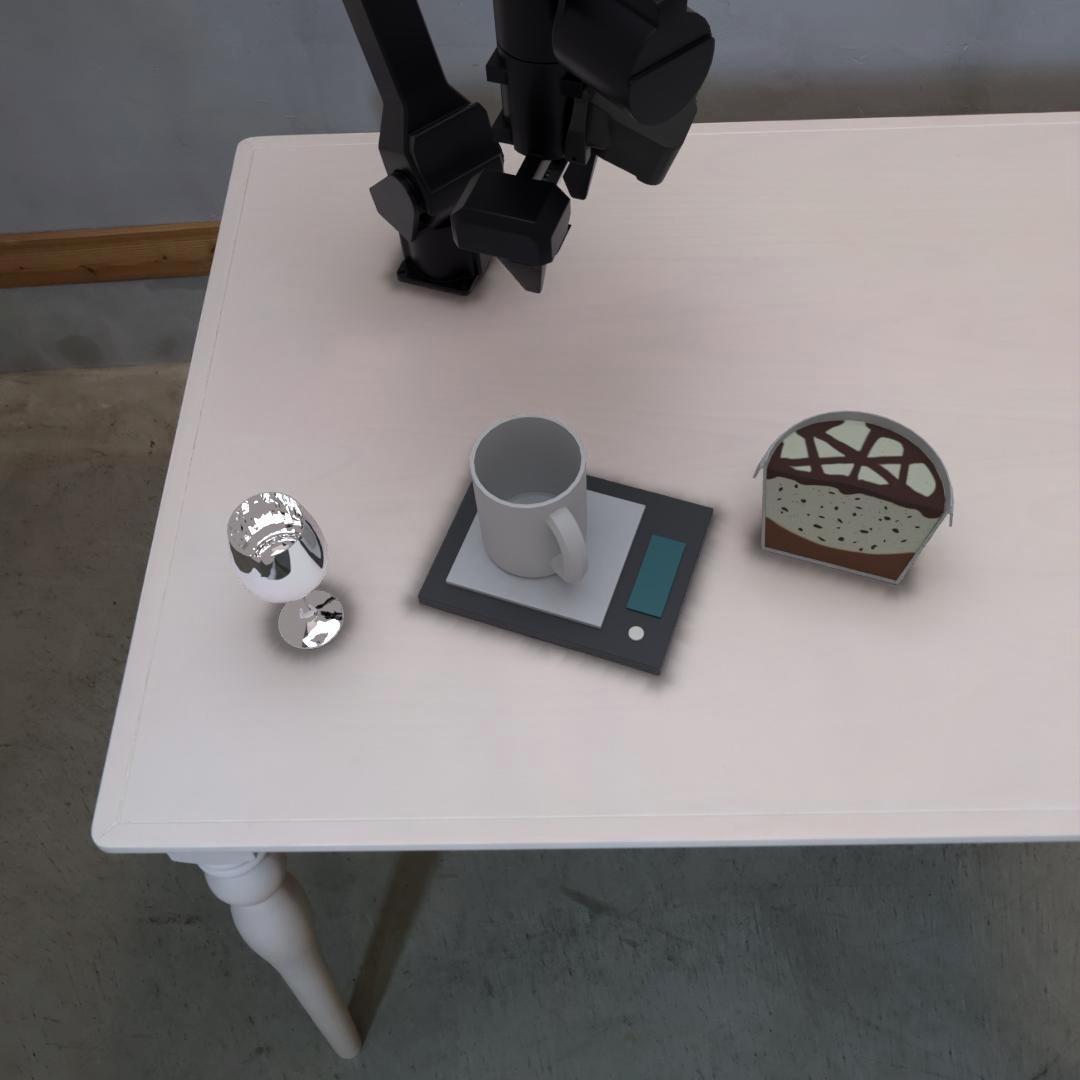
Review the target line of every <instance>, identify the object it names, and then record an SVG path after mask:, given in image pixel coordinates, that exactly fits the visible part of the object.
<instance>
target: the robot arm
mask: <svg viewBox="0 0 1080 1080" xmlns="http://www.w3.org/2000/svg"><path fill="white" fill-rule="evenodd" d="M688 1H689V0H492V9H493V19H494V20H493V21H494V31H495V41H496V42H495V43H496V47H495V49H494V51H493V52H492V54H491V56H490V57H489V58H488V61H487V62H486V64H485V66H484V67H485V75H486V82H488V83H492V84H498V85H500V95H501V96H500V97H501V110H500V112H499V113H498V115H497V117H496V119H495V121H494V122H493V124H492V125H491V122H490V121H491V120H490V118H489V114H488V111H487V109H486V108H485V107H484V106H483V105H482V104H481V103H480V102H478V101H474V102H472V101H471V100H470V99H468V98H467V97H466V96H465V95H464V94H463V93H461V92H460V91H458V89H457V88H455V87H454V86H453V85H451V84H450V83H449V81H448V79H447V77H446V75H445V72H444V69H443V66H442V64H441V61H440V58H439V56H438V53H437V50H436V47H435V44H434V41H433V39H432V37H431V33H430V30H429V28H428V26H427V23H426V20H425V17H424V15H423V12H422V9H421V7H420V4H419V1H418V0H341V2H342V4H343V6H344V9H345V13H346V14H347V17H348V18H349V22H350V24H351V26H352V30H353V32H354V34H355V36H356V39H357V41H358V44H359V46H360V49H361V51H362V54H363V56H364V58H365V61H366V63H367V66H368V68H369V71H370V73H371V76H372V78H373V82H374V84H375V86H376V88H377V91H378V94H379V96H380V98H381V101H382V112H381V121H380V129H379V136H378V143H377V144H378V145H377V147H378V152H379V155H380V159H381V161H382V163H383V166H384V169H385V173H386V175H387V176H385V177H384V178H383V179H381V180H379V181H378V182H376V183H375V184H373V185H371V186H370V187H369V188H368V190H369V193H370V196H371V199H372V201H373V204H374V206H375V209H376V211H377V213H378V214H379V215H380V216H381V218H383V220H385V222H387V223H388V224H389V225H390V226H391V227H392V228H393V229H395V230H396V232H398V236H399V241H400V247H401V251H402V255H403V256H402V257H403V260H402V261H401V262H400V265H399V267H398V268H397V270H396V277H397V279H398V280H399V281H402V282H407V283H411V284H416V285H419V286H423V287H427V288H433V289H436V290H440V291H445V292H449V293H453V294H456V295H457V294H458V295H462V296H467V295H469V294H470V293H471V292H472V290H473V288H474V286H475V285H476V282H477V281H478V279H479V277H480V276H482V275H483V274H484V272H485V270H486V268H487V266H488V264H489V263H490V261H491V259H492V257H495V258H496V259H498V261H499V262H500V263H501V264H502V265H503V266H504V267H505V269H506V270H507V271H508V272H509V273H510V275H511V276H512V277H513V278H514V279H515V280H516V281H517V283H518V284H519V285H520V286H521V287H522V289H523V290H525V292H529V293H533V294H538V295H539V294H541V293H542V292H543V288H544V282H545V277H546V271H547V265H549V264H551V263H553V262H554V260H555V258H556V256H557V255H558V254H559V252H560V251H561V248H562V246H563V244H564V242H565V240H566V239H567V236H568V234H569V231H570V229H571V228H572V224H571V223H570V220H571V215H572V207H571V198H572V199H575V200H579V201H585V200H586V199H587V197H588V195H589V192H590V189H591V184H592V180H593V176H594V174H595V169H596V166H597V162H598V158H600V159H601V160H603V161H605V162H607V163H609V164H611V165H613V166H615V167H617V168H619V169H621V170H622V171H625V172H627V173H629V174H630V175H633V176H634V177H635V178H636V180H637V181H638V182H640V183H642V184H645V185H648V186H658V185H660V184H662V183H663V182H664V180H665V178H666V177H667V174H668V172H669V170H670V168H671V167H672V165H673V163H674V162H675V160H676V158H677V156H678V155H679V152H680V151H681V149H682V147H683V145H684V144H685V141H686V138H687V136H688V134H689V132H690V129H691V127H692V125H693V122H694V120H695V118H696V116H697V114H698V104H697V103H698V101H697V99H696V98H697V97H698V94H699V92H700V90H701V89H702V87H703V85H704V83H705V80H706V79H707V77H708V75H709V72H710V69H711V67H712V64H713V59H714V55H715V49H716V48H715V47H716V38H715V37H713V33H712V30H711V25H710V24H709V22H708V20H707V19H706V18H705V17H704V16H703V15H701V14H700V13H699V12H697V11H696V10H694V9H693V8H690V7H689V6H688ZM501 144H505V145H509V146H513V149H514V151H515V152H517V153H518V154H520V155H522V156H524V159H523V160H522V162H521V164H520V167H519V168H518V170H517V172H516V173H515V174H512V173H508V172H505V167H504V166H505V154H504V152H503V149H502V145H501ZM562 179H563V182H564V185H565V186H566V188H567V191H568V194H569V196H568V195H567V194H566V193H565V192H564V191H563V190H562V189H561V188H560V187H559V185H560V182H561V181H562ZM570 197H571V198H570Z"/></svg>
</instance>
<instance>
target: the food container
mask: <svg viewBox="0 0 1080 1080" xmlns="http://www.w3.org/2000/svg"><path fill="white" fill-rule="evenodd" d="M761 469H762V497H761V498H762V499H761V500H762V503H761V532H760V533H761V535H760V537H761V538H760V543H761V544H760V550H762V551H766V552H769V553H773V554H778V555H782V556H786V557H789V558H792V559H797V560H800V561H804V562H808V563H813V564H817V565H820V566H824V567H828V568H831V569H836V570H839V571H844V572H847V573H851V574H855V575H859V576H863V577H867V578H870V579H874V580H878V581H882V582H886V583H890V584H893V585H899V584H900V583H901V581H902V580H903V579H904V577H905V576H906V574H907V573H908V572H909V570H910V569H911V568H912V566H913V564H914V563H915V561H916V560H917V559H918V557H919V556H920V554H922V552H923V550H924V549H925V547H926V546H927V544H928V543H929V541H930V540H931V538H932V537H933V536H934V534H935V533H936V531H937V530H938V529H939V527H940V526H941V524H942V523H943V522H944V521H945V518H946V517H948V515H949V521H948V522H949V523H948V527H949V528H951V527H953V520H954V509H955V497H954V488H953V486H952V481H951V477H950V474H949V472H948V470H947V468H946V465H945V464H944V461H943V460H942V457H940V455H939V453H937V451H936V450H935V448H934V447H933V446H931V444H930V443H929V442H928V441H927V440H926V439H925V438H924V437H922V436H921V435H919V434H918V433H917V432H916V431H914V430H913V429H911V428H910V427H908V426H906V425H904V424H903V423H901V422H898V421H896V420H894V419H891V418H889V417H887V416H883V415H880V414H877V413H873V412H866V411H861V410H836V411H835V410H834V411H833V410H832V411H828V412H822V413H818V414H814V415H812V416H809V417H806V418H804V419H802V420H801V421H798V422H796V423H795V424H792V425H791V426H790V427H789V428H787V429H786V430H785V431H783V432H782V433H781V434H780V435H778V437H777V438H776V439H775V440H774V441H773V442H772V443H771V444H770V446H769V447H768V449H767V450H766V451H765V452H764V455H763V456H762V458H761V460H760V461H759V463H758V465H757V466H756V469H755V471H754V473H753V476H752V479H756V478H757V477H758V475H759V473H760V472H761Z"/></svg>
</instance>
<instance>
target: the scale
mask: <svg viewBox="0 0 1080 1080" xmlns="http://www.w3.org/2000/svg"><path fill="white" fill-rule="evenodd" d="M586 487H587V533H586V541H585V545H586V550H587V556H588V570H587V573H586V575H585V576H584V577H583V578H582V580H581V581H579V582H574V583H568V582H566V581H564V580H563V579H562V578H561V577H560V576H559V575H558V574H557V573H555V574H552V575H549V576H544V577H537V578H531V577H521V576H518V575H515V574H512V573H509V572H507V571H505V570H504V569H502V568H501V567H499V566H498V565H497V564H496V563H495V562H494V561H493V560H492V559H491V558H490V557H489V555H488V553H487V550H486V548H485V546H484V543H483V539H482V534H481V528H480V522H479V516H478V510H477V504H476V499H475V493H474V487H473V481H472V480H471V481H470V484H469V486H468V488H467V489H466V492H465V494H464V496H463V498H462V501H461V503H460V505H459V507H458V509H457V511H456V514H455V516H454V518H453V520H452V522H451V524H450V526H449V528H448V530H447V532H446V535H445V537H444V539H443V541H442V544H441V545H440V547H439V550H438V552H437V554H436V556H435V559H434V560H433V563H432V564H431V567H430V569H429V571H428V573H427V575H426V577H425V579H424V582H423V584H422V586H421V588H420V590H419V592H418V594H417V599H418V602H419V603H420V604H422V605H426V606H429V607H432V608H435V609H439V610H442V611H446V612H449V613H452V614H455V615H458V616H461V617H465V618H469V619H471V620H474V621H475V620H476V621H479V622H482V623H485V624H488V625H492V626H494V627H495V626H496V627H497V628H501V629H506V630H508V631H510V632H511V631H512V632H515V633H517V634H522V635H525V636H527V637H532V638H535V639H538V640H541V641H544V642H548V643H551V644H555V645H558V646H561V647H564V648H568V649H571V650H575V651H578V652H580V653H584V654H588V655H591V656H594V657H597V658H600V659H603V660H607V661H611V662H614V663H617V664H620V665H624V666H627V667H630V668H633V669H636V670H637V669H638V670H641V671H644V672H647V673H650V674H653V675H657V676H659V675H661V673H662V669H663V666H664V664H665V663H664V662H665V660H666V657H667V654H668V652H669V648H670V645H671V642H672V640H673V636H674V633H675V630H676V627H677V624H678V622H679V618H680V615H681V612H682V610H683V607H684V604H685V599H686V597H687V594H688V591H689V588H690V585H691V582H692V579H693V576H694V573H695V571H696V568H697V564H698V561H699V558H700V554H701V552H702V549H703V546H704V543H705V540H706V537H707V534H708V531H709V529H710V525H711V522H712V519H713V515H714V508H713V507H709V506H706V505H703V504H698V503H695V502H691V501H688V500H683V499H680V498H676V497H672V496H668V495H665V494H660V493H657V492H653V491H651V490H646V489H642V488H639V487H633V486H631V485H628V484H627V485H626V484H624V483H618V482H616V481H612V480H609V479H604V478H601V477H598V476H593V475H589V474H586Z"/></svg>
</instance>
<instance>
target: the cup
mask: <svg viewBox="0 0 1080 1080" xmlns="http://www.w3.org/2000/svg"><path fill="white" fill-rule="evenodd" d="M469 468H470V475H471V482H472V481H473V487H474V493H475V499H476V504H477V510H478V516H479V522H480V528H481V534H482V539H483V543H484V546H485V548H486V550H487V553H488V555H489V557H490V558H491V559H492V560H493V561H494V562H495V563H496V564H497V565H498V566H499V567H501V568H502V569H504V570H505V571H507V572H509V573H512V574H515V575H518V576H521V577H531V578H537V577H544V576H549V575H552V574H555V573H557V574H558V575H559V576H560V577H561V578H562V579H563V580H564V581H566V582H568V583H574V582H579V581H581V580H582V578H583V577H584V576H585V575H586V573H587V570H588V556H587V550H586V545H585V541H586V533H587V487H586V475H587V457H586V451H585V446H584V444H583V442H582V441H581V439H580V437H579V435H578V433H576V432H575V431H574V430H573V429H572V428H571V427H570V425H568V424H566V423H564V422H563V421H561V420H559V419H557V418H555V417H551V416H549V415H545V414H538V413H523V414H516V415H511V416H508V417H506V418H503V419H500V420H498V421H496V422H495V423H493V424H491V425H490V426H489V427H487V428H486V429H485V430H484V431H483V432H482V433H481V434H480V435H479V436H478V437H477V440H476V441H475V443H474V445H473V446H472V449H471V453H470V457H469Z"/></svg>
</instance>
